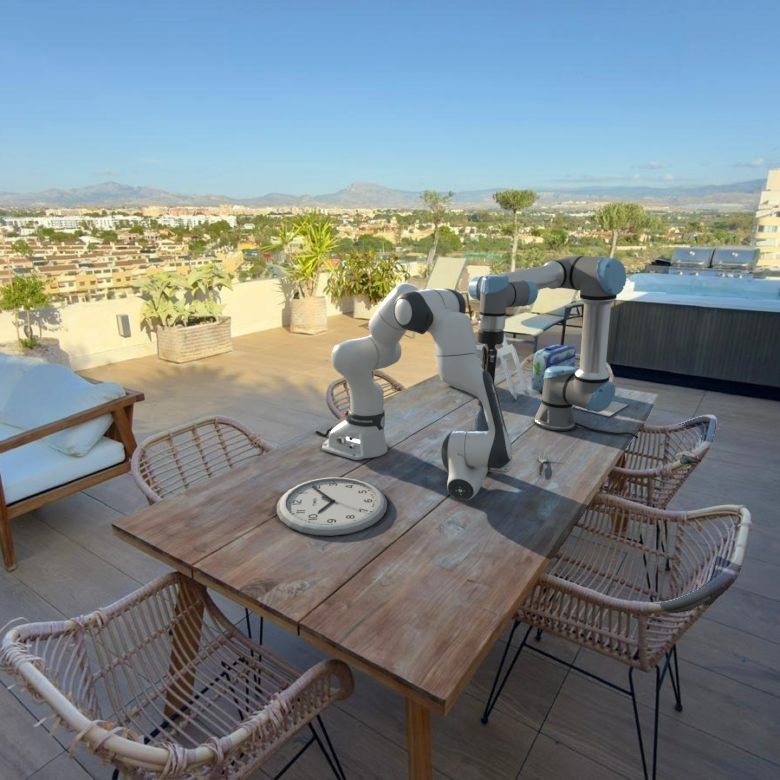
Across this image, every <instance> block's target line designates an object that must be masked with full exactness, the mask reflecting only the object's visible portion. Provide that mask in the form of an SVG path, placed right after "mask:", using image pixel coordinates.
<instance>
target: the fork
mask: <svg viewBox="0 0 780 780" xmlns="http://www.w3.org/2000/svg"><path fill="white" fill-rule="evenodd" d="M538 461H539V462H540V465H539V467H538V468H539V469H538V470H539V475H541V474H542V472H543V470H544V463H546V462H547V461H548V451H547V452H546V454H544V452H542V451H540V453H539V457H538Z"/></svg>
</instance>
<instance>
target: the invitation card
mask: <svg viewBox="0 0 780 780" xmlns="http://www.w3.org/2000/svg"><path fill="white" fill-rule="evenodd" d="M628 406H629V404H627V403H623V402H618V401H614V400H612V402H611V403H610V405H609V406H608V407H607V408H606V409H605V410H603V411H601V412H594V411H589V410H587V409H584V408H581V407H578V406H574V407H573V409H575V410H581V411H584V412H587V413H593V414H596V415H600V416H604V417H608V418H609V417H611V416H613V415H614V414H616V413H617V412H619V411H621V410H623V409H624V408H626V407H628Z"/></svg>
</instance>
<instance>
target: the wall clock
mask: <svg viewBox="0 0 780 780" xmlns="http://www.w3.org/2000/svg"><path fill="white" fill-rule="evenodd" d="M387 509H388V500H387V498H386V496H385V494H384V493H383V492H382V491H381V490H380V489H379V488H377V487H376V486H374V485H372V484H371V483H369V482H365V481H362V480H359V479H355V478H349V477H338V476H337V477H335V476H333V477H332V476H331V477H322V478H317V479H312V480H307V481H305V482H302V483H299V484H297V485H295V486H293V487H292V488H290V489H288V490H287V491H286V492H285V493H284V494H283V495H281V496H280V498H279V499H278V502H277V503H276V515H277V517H278V518H279V520H280V521H281V522H282V523H283V524H285V525H286V526H287V527H288V528H290V529H293V530H295V531H297V532H299V533H303V534H308V535H312V536H327V537H328V536H329V537H331V536H332V537H333V536H342V535H350V534H352V533H356V532H361V531H363V530H366V529H368V528H369V527H372V526H373V525H375V524H376V523H378V522H379V521H380V520H381V519H382V518H383V517H384V516H385V514H386V512H387Z"/></svg>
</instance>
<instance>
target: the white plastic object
mask: <svg viewBox="0 0 780 780" xmlns="http://www.w3.org/2000/svg"><path fill="white" fill-rule="evenodd" d="M501 345H502V347H500V348H498V349H496V350H497V359H496V367H495V370H496V369H497V368H499V367H500V366H502V370H503V373H504V376H505V380H506V383H507V386H508V390H509V393H510V394H511V395H512V397H513V398H514V399H515V400H517V392H516V391H517V390H516V388H515V385H514V381H513V378H512V375H511V371H510V369H509V365H508V361H510V360H513V363H514V366H515V369H516V372H517V376H518V380H519V382H520V385H521V389H522V391H523V393H524V395H525V396H526V397H528V396H531V395H530V390H529V388H528V387H529V386H528V384H527V381H526V378H525V375H524V371H523V369H522V368H523V367H522V366H521V362H520V359H519V355H518V352H517V349H516V347H515V346H514V345H513V343H511V344H508V341H507V337H506V334H505V333H504V340H503V343H502V344H501ZM483 346H485V344H479V345H476V350H477V357H478V361H479V363H480V365H481V367H482V355H483V353H482V348H483ZM440 381H442V383H443V384H444V385H445V386H450V385H449V384H447V383H446V382H444V381H443V380H442V379H441V378H440Z"/></svg>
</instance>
